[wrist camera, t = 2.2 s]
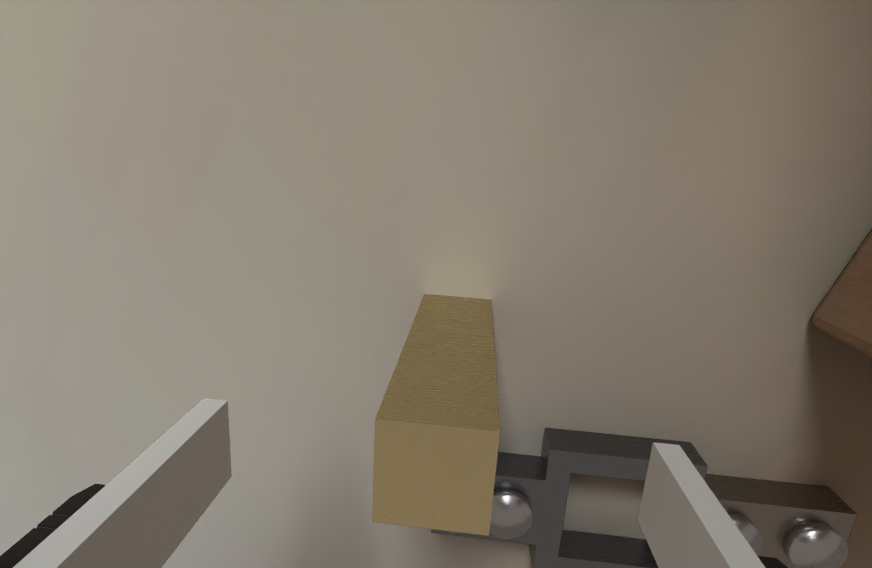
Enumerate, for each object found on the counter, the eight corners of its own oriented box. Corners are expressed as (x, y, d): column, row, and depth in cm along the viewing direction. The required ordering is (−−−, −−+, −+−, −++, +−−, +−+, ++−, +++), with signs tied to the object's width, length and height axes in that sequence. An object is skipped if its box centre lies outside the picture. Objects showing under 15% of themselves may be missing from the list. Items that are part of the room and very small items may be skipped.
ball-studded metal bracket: (437, 417, 27) (432, 444, 24) (838, 457, 25) (877, 491, 23) (429, 531, 29) (424, 568, 26) (800, 575, 27) (832, 618, 25)
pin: (424, 294, 25) (375, 418, 13) (491, 299, 25) (500, 431, 13) (420, 355, 26) (372, 522, 14) (485, 361, 26) (488, 535, 14)
